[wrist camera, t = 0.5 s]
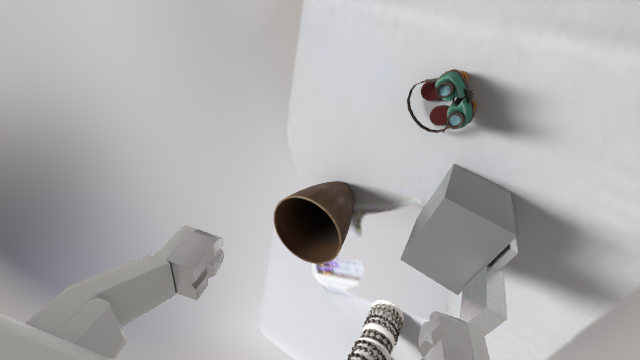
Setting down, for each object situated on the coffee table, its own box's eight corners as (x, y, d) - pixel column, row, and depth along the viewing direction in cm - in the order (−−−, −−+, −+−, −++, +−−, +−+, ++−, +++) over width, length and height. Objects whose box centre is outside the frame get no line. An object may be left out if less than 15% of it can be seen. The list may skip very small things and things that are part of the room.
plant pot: (364, 164, 58) (330, 196, 46) (375, 225, 63) (347, 269, 50) (307, 167, 66) (264, 195, 54) (320, 221, 71) (284, 259, 58)
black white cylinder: (405, 331, 71) (374, 439, 52) (371, 319, 76) (331, 414, 56) (405, 305, 68) (372, 411, 48) (370, 294, 72) (326, 386, 53)
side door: (501, 204, 46) (508, 287, 30) (516, 211, 46) (531, 300, 30) (467, 243, 52) (458, 330, 36) (480, 250, 51) (476, 342, 35)
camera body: (454, 163, 49) (444, 197, 38) (511, 191, 47) (518, 236, 36) (412, 225, 58) (395, 266, 47) (458, 251, 55) (451, 302, 44)
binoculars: (387, 97, 41) (457, 66, 34) (409, 86, 49) (470, 59, 42) (408, 151, 43) (478, 131, 36) (426, 133, 50) (488, 113, 44)
